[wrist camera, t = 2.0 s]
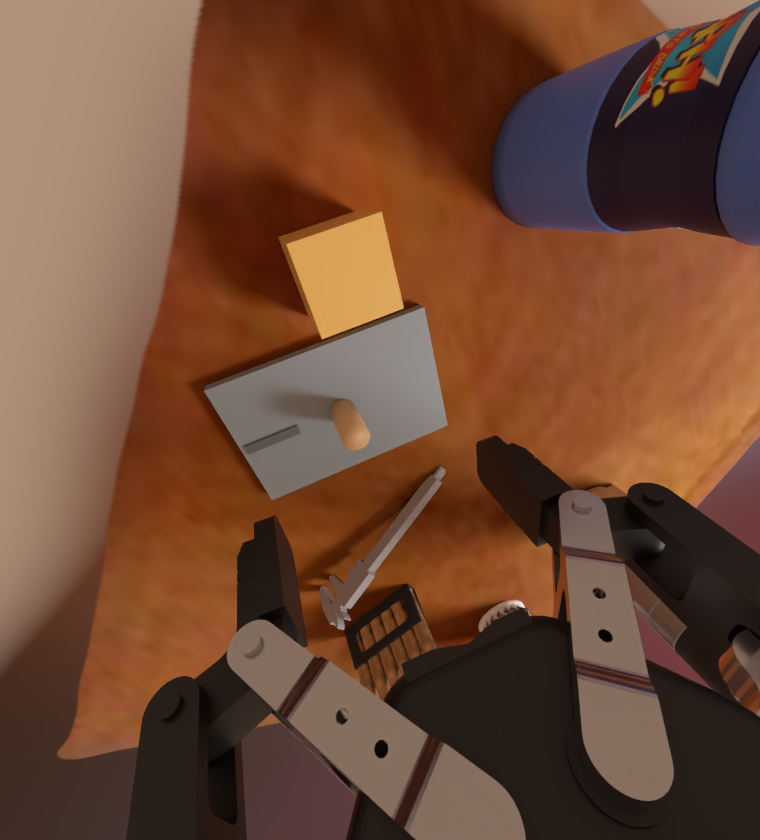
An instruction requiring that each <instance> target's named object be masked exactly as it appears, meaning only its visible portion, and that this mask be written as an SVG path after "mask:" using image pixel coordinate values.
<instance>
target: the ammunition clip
mask: <svg viewBox="0 0 760 840" xmlns="http://www.w3.org/2000/svg"><path fill="white" fill-rule="evenodd" d="M345 635H346V639H347V642H348V646H349V649H350V653H351V657H352V660H353V664H354V667H355V669H356V670H357V671H358V675H359V679H360V683H361V685H362V686H364V687H365V688H366V689H368V690H369V691H370V692H372V693H373V694H374V695H376V696H377V692H376V689H377V691H378V694H379V697H380V699H381V700H382V701H383V700H384V698H385V696H386V694H387V693H388V691H389V686H388V681H389V682H390V685H391V687H392V686H393V685H394V683H395V682H396V681H397V680H398V679H399V678H400V672H401V674H402V675H403V674H404V672H403V669H402V666H401V664H402V663H404V662H406V661H408V660H410V659H413V658H415V657H417V656H419V655H421V654H423V652H424V653H426V652H428V651H430V650H432V649H436V645H435V642H434V640H433V637H432V635H431V633H430V630H429V628H428V623H427V621H426V618H425V616H424V613H423V610H422V608H421V605H420V603H419V600H418V597H417V595H416V592H415V590H414V588H413V587H411V586H410V585H408V584H405V585H404V586H403V587H401V588H400V589H399V590H397V591H396V592H395V593H394V594H392V595H391V596H390V597H388V598H387V599H386V600H384V601H383V602H382V603H380V604H379V605H378V606H376V607H375V608H374V609H372V610H371V611H370V612H368V613H367V614H366V615H364V616H363V617H362V618H360V619H359V620H358V621H356V622H355V623H354V624H352V625H351V626H350V627H349V628H347V629H346V630H345ZM416 635H417V636H416ZM418 640H419V641H418ZM404 643H405V644H404ZM419 643H420V644H419ZM420 645H421V646H420ZM421 648H422V649H421ZM422 650H423V651H422ZM407 651H408V652H407ZM408 654H409V655H408ZM399 670H400V672H399Z"/></svg>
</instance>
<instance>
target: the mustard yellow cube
mask: <svg viewBox="0 0 760 840" xmlns="http://www.w3.org/2000/svg"><path fill="white" fill-rule="evenodd" d="M278 239H279V241H280V244H281V246H282V249H283V252H284V254H285V257H286V259H287V262H288V265H289V267H290V270H291V272H292V275H293V278H294V280H295V283H296V285H297V288H298V291H299V293H300V296H301V298H302V301H303V304H304V306H305V309H306V311H307V314H308V316H309V318H310V320H311V322H312V323H313V325H314V327H315V328H316V330H317V332H318V333H319V335H320V337H321V338H322V339H325V338H327V337H330V336H332V335H335V334H338V333H340V332H343V331H346V330H348V329H351V328H354V327H356V326H359V325H361V324H364V323H367V322H369V321H372V320H375V319H377V318H380V317H383V316H385V315H388V314H391V313H393V312H396V311H398V310H401V309H404V306H403V302H402V298H401V293H400V289H399V285H398V280H397V276H396V272H395V267H394V263H393V259H392V254H391V250H390V246H389V241H388V237H387V233H386V228H385V224H384V220H383V215H382V212H374V211H354V212H351V213H348V214H345V215H342V216H339V217H336V218H333V219H330V220H327V221H324V222H321V223H318V224H315V225H312V226H309V227H306V228H303V229H301V230H298V231H295V232H292V233H289V234H286V235H283V236H280V237H278Z"/></svg>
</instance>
